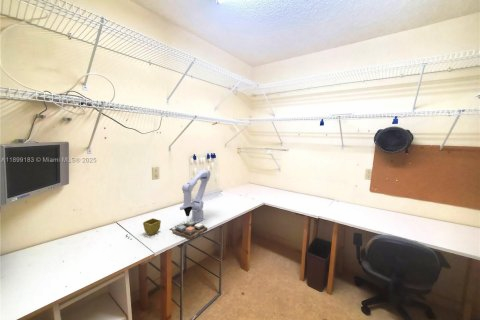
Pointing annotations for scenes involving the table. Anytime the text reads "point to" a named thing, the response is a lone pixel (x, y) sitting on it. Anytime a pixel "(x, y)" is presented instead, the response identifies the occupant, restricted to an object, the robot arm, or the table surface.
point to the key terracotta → (190, 229)
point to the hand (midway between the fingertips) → (187, 216)
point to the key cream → (198, 225)
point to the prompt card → (176, 227)
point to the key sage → (190, 223)
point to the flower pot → (152, 226)
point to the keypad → (189, 235)
